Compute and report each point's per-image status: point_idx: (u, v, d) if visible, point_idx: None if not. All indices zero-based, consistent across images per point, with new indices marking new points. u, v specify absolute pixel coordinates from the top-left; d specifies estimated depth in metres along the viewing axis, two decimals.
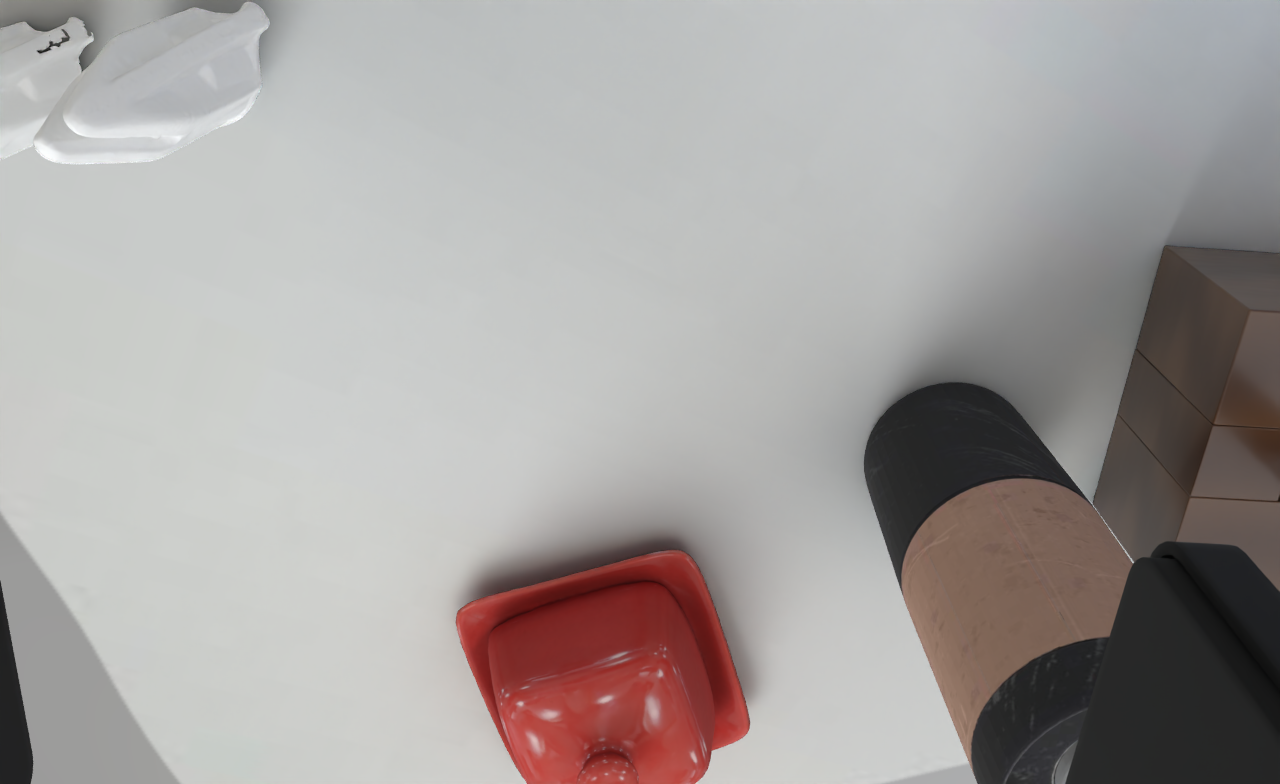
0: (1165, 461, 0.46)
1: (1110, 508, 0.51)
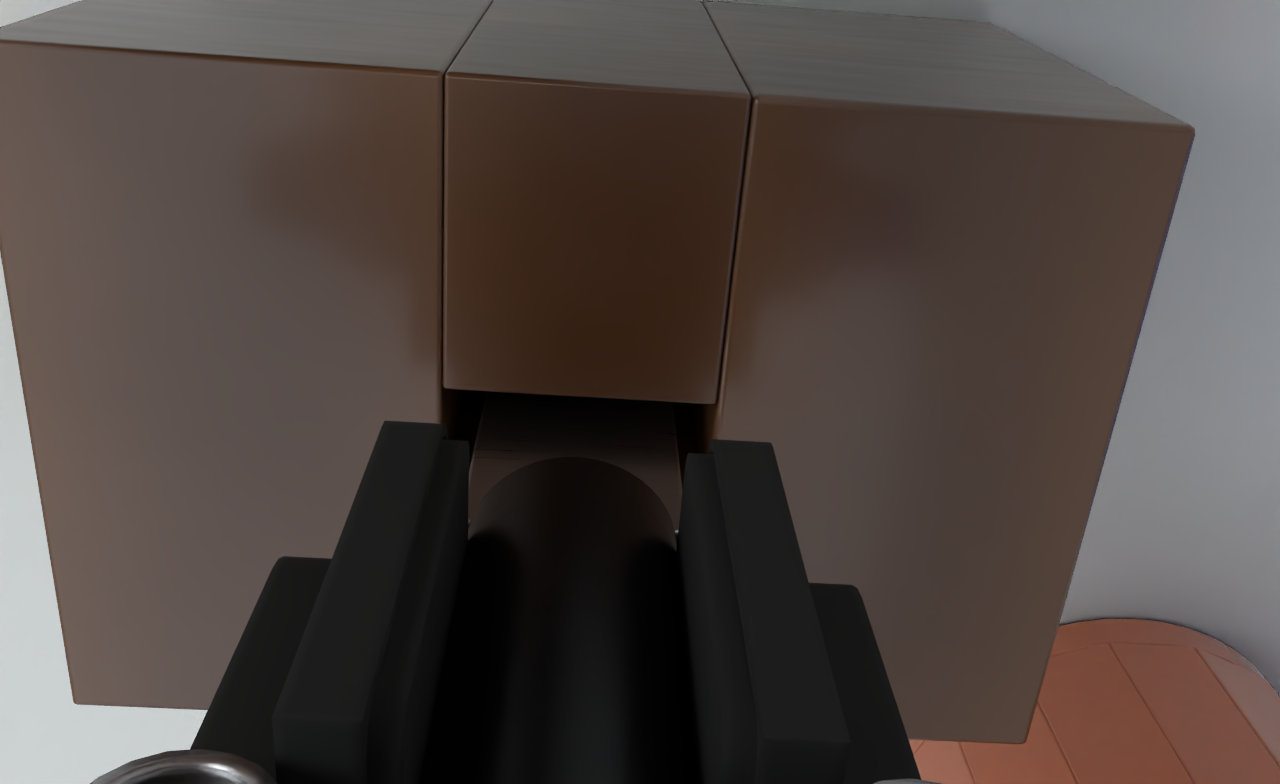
0: (490, 35, 0.14)
1: None
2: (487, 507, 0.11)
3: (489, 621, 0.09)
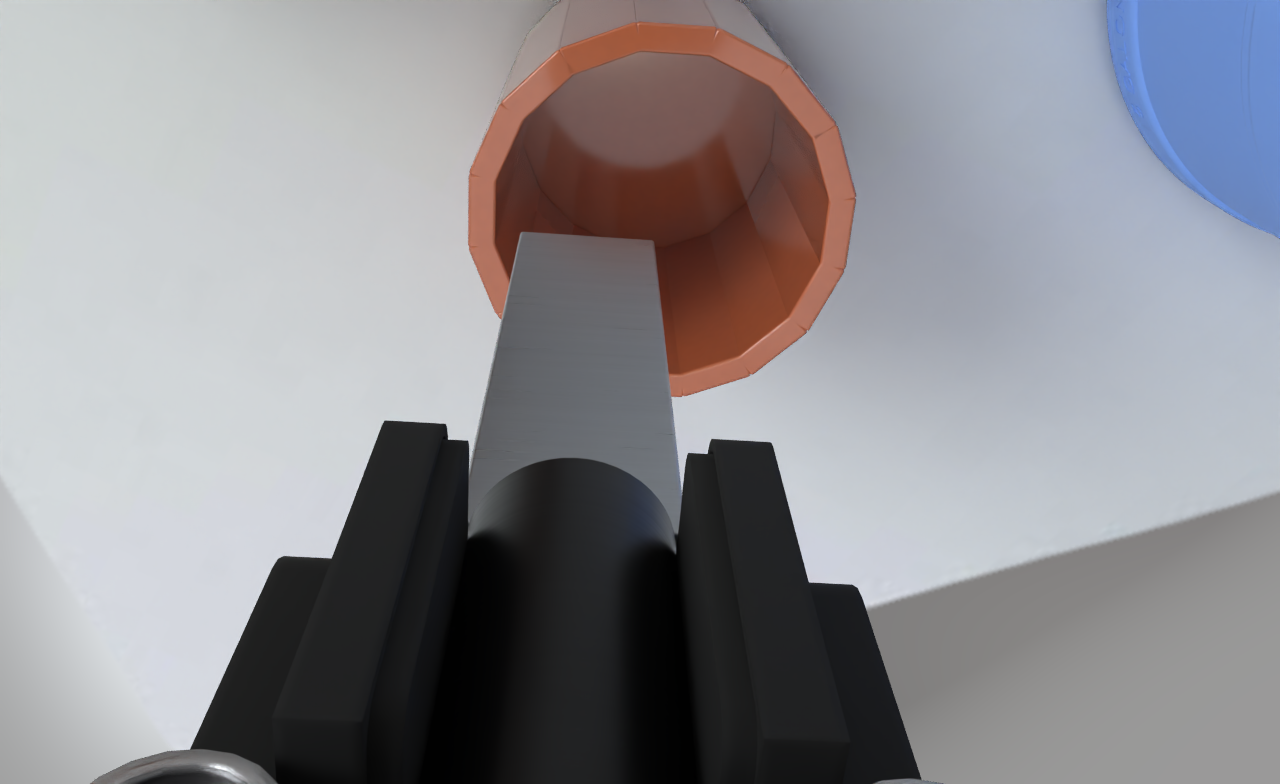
0: None
1: None
2: (486, 508, 0.11)
3: (487, 623, 0.09)
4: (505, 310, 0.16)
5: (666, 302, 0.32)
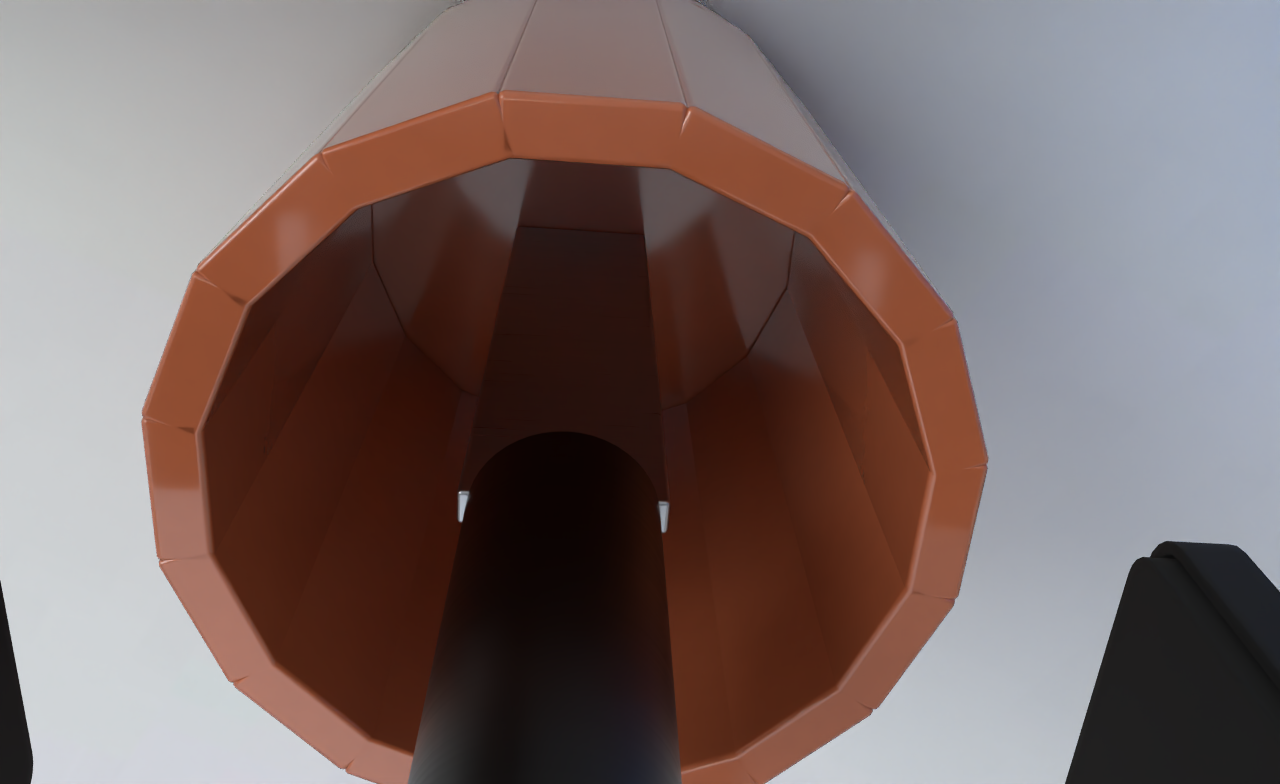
0: None
1: None
2: (484, 477, 0.12)
3: (486, 577, 0.10)
4: (502, 300, 0.17)
5: None
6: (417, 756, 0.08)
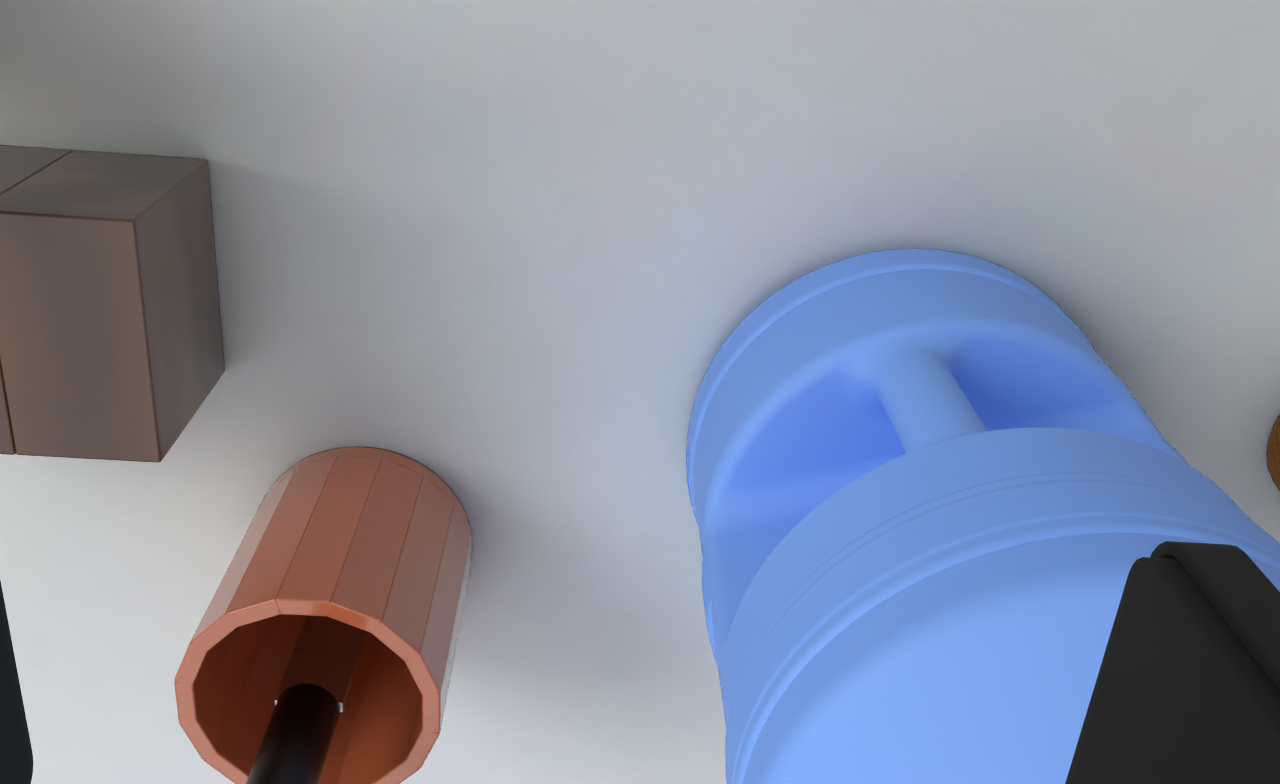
0: None
1: None
2: (279, 699, 0.38)
3: (269, 737, 0.36)
4: None
5: (357, 702, 0.44)
6: None
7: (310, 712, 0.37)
